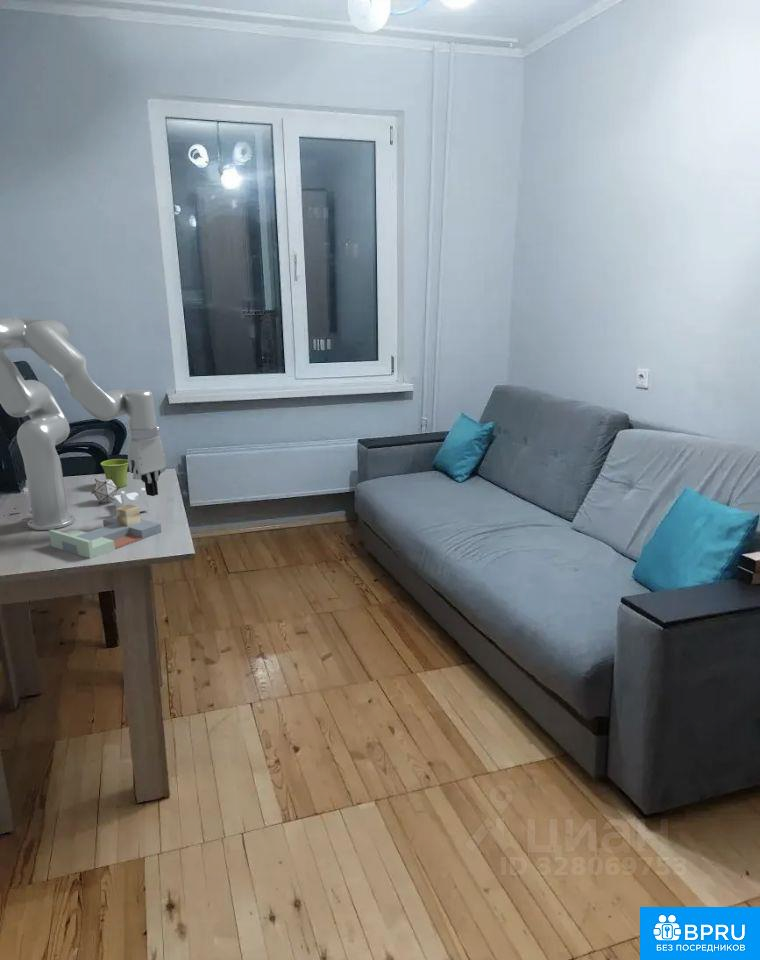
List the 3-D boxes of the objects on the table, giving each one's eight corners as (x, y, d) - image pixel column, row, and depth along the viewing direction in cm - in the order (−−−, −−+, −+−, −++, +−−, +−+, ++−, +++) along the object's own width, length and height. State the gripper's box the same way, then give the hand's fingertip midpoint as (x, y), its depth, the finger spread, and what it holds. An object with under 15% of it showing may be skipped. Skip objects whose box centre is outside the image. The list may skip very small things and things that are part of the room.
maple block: (117, 523, 196) (115, 508, 194) (130, 519, 199) (129, 504, 198) (127, 526, 193) (126, 511, 192) (140, 521, 197) (139, 506, 196)
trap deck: (51, 546, 186) (49, 530, 185) (122, 521, 205) (121, 507, 203) (90, 558, 177) (88, 542, 176) (161, 532, 196) (159, 517, 194)
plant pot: (126, 480, 248) (123, 457, 246) (135, 486, 241) (133, 462, 238) (100, 485, 242) (97, 461, 240) (108, 491, 235) (105, 467, 233)
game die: (111, 514, 223) (111, 495, 216) (86, 505, 223) (85, 486, 215) (124, 494, 229) (124, 475, 222) (99, 485, 229) (99, 466, 222)
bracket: (148, 513, 213) (146, 489, 211) (125, 517, 210) (122, 493, 208) (137, 502, 224) (134, 480, 222) (114, 506, 220) (112, 483, 218)
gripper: (156, 427, 204) (164, 486, 209) (113, 437, 192) (122, 500, 197) (173, 429, 200) (180, 489, 205) (130, 440, 188) (139, 503, 193)
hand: (152, 494), depth 201 cm, fingers closed
